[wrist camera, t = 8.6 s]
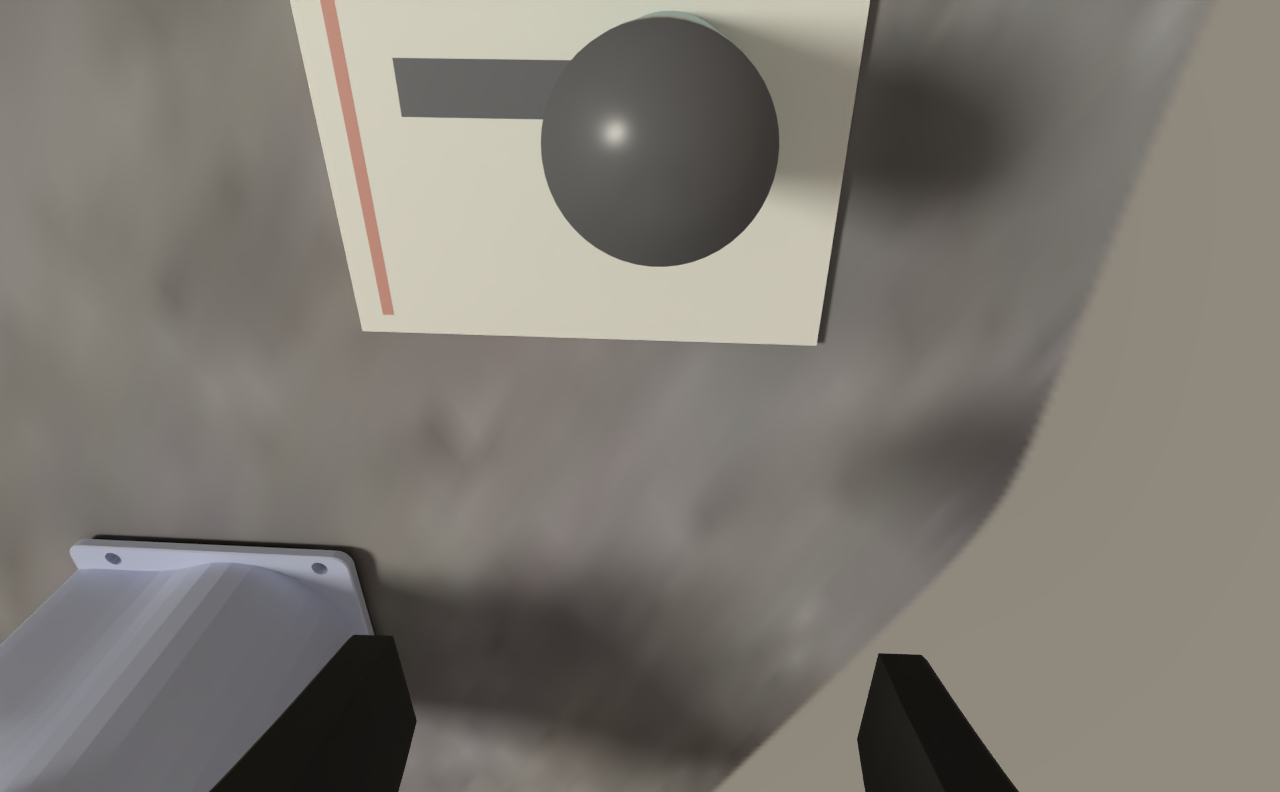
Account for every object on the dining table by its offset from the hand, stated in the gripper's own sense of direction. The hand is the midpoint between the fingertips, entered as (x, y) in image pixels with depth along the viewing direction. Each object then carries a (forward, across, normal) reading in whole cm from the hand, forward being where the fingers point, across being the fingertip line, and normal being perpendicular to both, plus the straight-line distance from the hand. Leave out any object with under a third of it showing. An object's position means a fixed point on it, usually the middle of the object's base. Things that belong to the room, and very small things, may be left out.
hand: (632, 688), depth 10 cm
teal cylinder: (+10, 0, -7) cm, 12 cm away
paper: (+10, +2, -7) cm, 12 cm away
